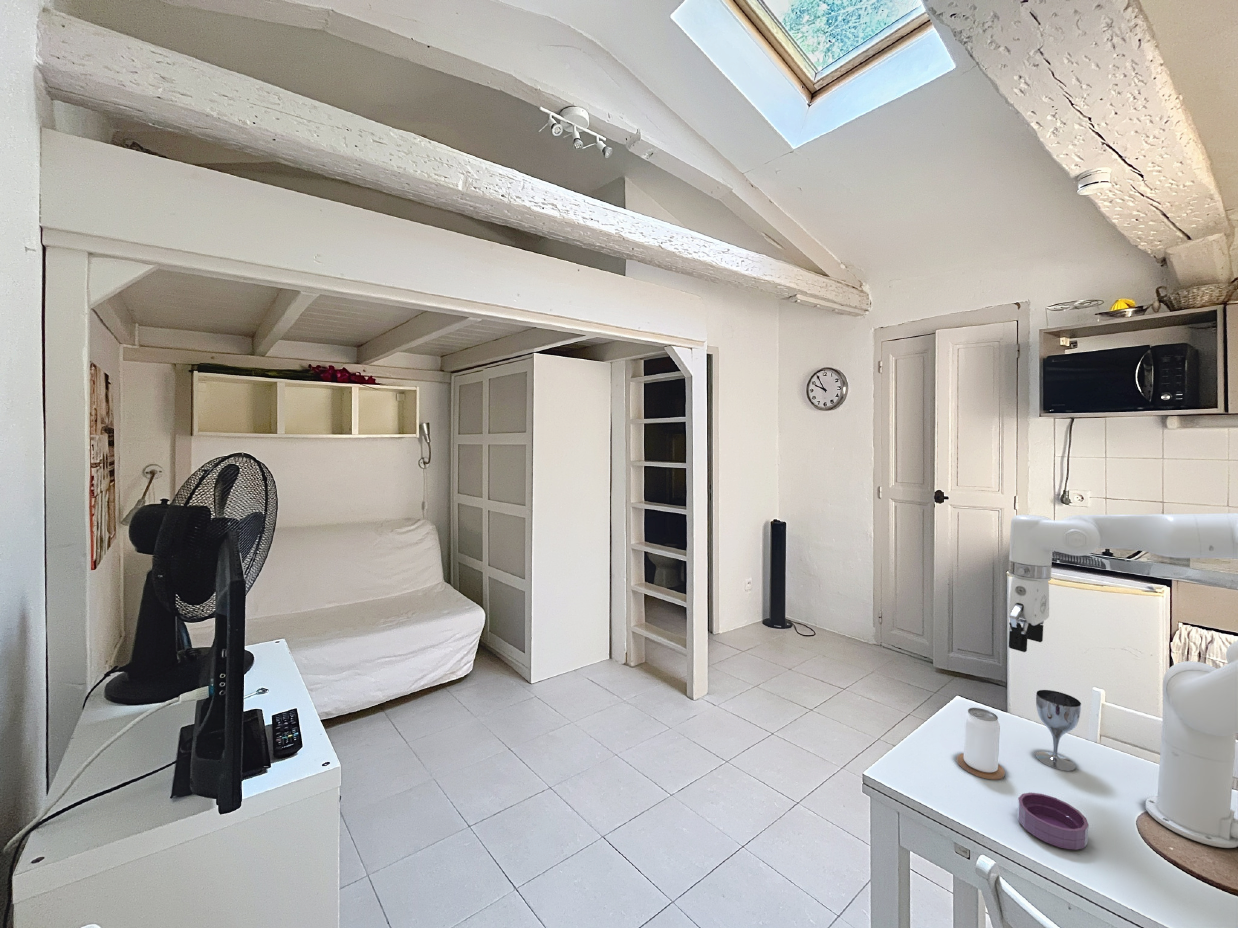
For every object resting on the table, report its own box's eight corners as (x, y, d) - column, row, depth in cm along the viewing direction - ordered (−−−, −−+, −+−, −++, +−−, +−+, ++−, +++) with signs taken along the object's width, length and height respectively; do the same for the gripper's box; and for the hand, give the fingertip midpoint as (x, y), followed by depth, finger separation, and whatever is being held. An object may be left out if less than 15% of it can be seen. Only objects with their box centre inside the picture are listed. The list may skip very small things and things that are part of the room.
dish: (1094, 835, 99) (1095, 815, 99) (1077, 860, 93) (1078, 839, 93) (1028, 804, 107) (1029, 785, 107) (1009, 825, 101) (1010, 805, 101)
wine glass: (1073, 757, 123) (1077, 695, 122) (1080, 775, 116) (1084, 710, 116) (1031, 746, 127) (1034, 686, 127) (1035, 763, 121) (1038, 700, 120)
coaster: (1011, 769, 118) (1011, 768, 118) (995, 784, 113) (995, 783, 113) (966, 750, 126) (966, 748, 126) (949, 763, 121) (949, 761, 121)
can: (1003, 775, 116) (1006, 723, 115) (971, 771, 117) (973, 719, 116) (989, 758, 122) (991, 708, 121) (958, 754, 123) (960, 705, 123)
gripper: (1036, 580, 109) (1032, 659, 110) (1063, 568, 119) (1059, 641, 120) (994, 572, 116) (990, 648, 117) (1023, 561, 126) (1020, 631, 126)
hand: (1025, 644), depth 118 cm, fingers open, 9 cm apart
